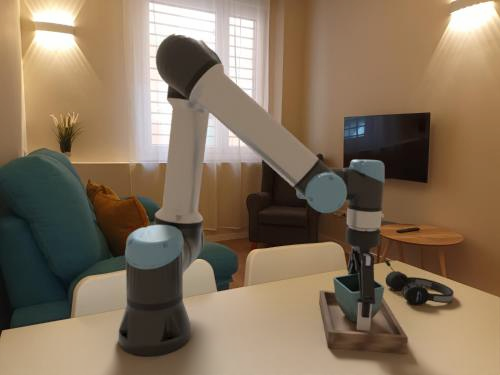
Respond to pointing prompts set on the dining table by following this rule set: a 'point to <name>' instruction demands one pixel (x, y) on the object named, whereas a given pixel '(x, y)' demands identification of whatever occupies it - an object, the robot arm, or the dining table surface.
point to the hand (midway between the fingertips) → (357, 315)
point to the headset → (418, 288)
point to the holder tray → (348, 337)
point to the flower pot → (354, 295)
